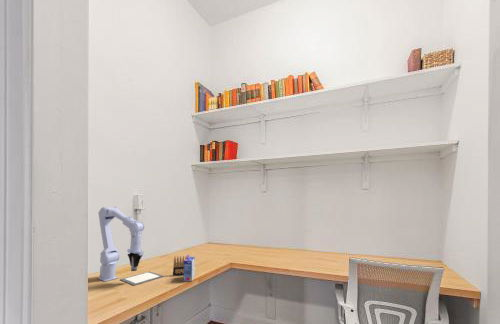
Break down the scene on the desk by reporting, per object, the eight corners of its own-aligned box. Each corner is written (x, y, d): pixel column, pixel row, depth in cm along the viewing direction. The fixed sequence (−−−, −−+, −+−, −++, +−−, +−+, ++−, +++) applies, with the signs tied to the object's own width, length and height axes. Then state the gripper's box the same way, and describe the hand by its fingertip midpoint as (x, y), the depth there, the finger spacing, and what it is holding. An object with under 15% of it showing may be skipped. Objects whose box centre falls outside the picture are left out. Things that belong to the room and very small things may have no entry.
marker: (129, 270, 148) (130, 256, 149) (135, 269, 150) (136, 255, 151) (132, 271, 146) (133, 257, 147) (137, 270, 148) (138, 256, 149)
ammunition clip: (189, 274, 164) (190, 255, 165) (189, 274, 162) (190, 255, 163) (173, 274, 162) (173, 255, 163) (172, 275, 160) (173, 256, 162)
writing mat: (119, 280, 151) (119, 279, 151) (149, 272, 167) (149, 271, 167) (133, 285, 142) (133, 284, 142) (163, 276, 158) (163, 275, 158)
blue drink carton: (186, 276, 159) (187, 252, 161) (195, 276, 159) (195, 252, 161) (182, 281, 149) (183, 256, 151) (191, 281, 150) (192, 256, 152)
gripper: (123, 242, 151) (121, 265, 149) (135, 245, 143) (134, 270, 141) (134, 240, 157) (132, 263, 155) (147, 243, 148) (145, 267, 146)
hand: (134, 266), depth 148 cm, fingers closed on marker, 3 cm apart
